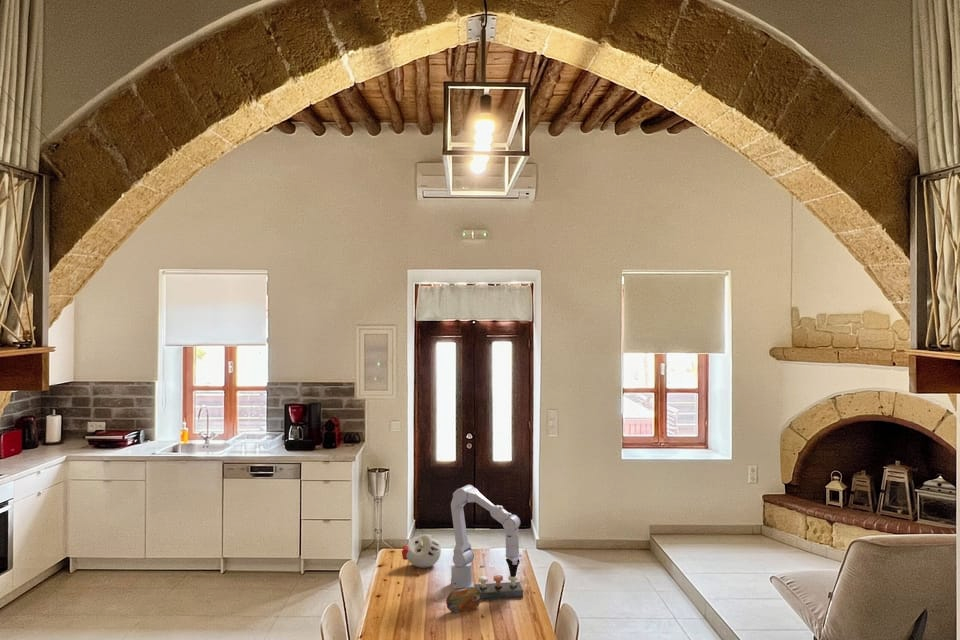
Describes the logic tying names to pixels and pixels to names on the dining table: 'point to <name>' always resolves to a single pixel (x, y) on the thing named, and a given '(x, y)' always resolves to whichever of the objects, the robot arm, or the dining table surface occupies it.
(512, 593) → the knob plate
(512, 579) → the knob
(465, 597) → the multicolored oval slab
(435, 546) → the decorative object
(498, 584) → the middle knob
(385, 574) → the dining table surface
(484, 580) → the knob
